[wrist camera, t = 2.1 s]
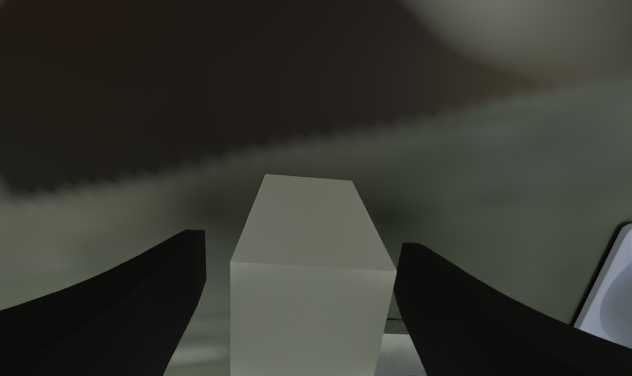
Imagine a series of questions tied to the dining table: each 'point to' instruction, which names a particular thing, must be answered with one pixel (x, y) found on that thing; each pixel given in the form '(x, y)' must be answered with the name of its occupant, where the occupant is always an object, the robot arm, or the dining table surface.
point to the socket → (398, 352)
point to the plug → (308, 282)
